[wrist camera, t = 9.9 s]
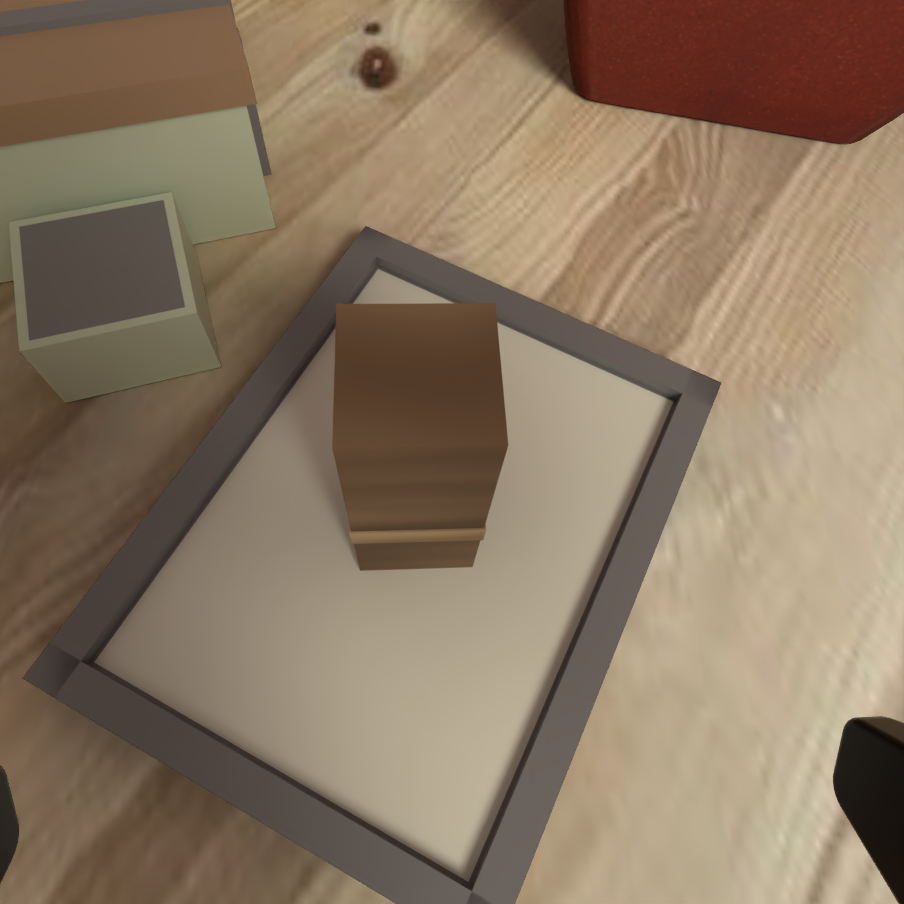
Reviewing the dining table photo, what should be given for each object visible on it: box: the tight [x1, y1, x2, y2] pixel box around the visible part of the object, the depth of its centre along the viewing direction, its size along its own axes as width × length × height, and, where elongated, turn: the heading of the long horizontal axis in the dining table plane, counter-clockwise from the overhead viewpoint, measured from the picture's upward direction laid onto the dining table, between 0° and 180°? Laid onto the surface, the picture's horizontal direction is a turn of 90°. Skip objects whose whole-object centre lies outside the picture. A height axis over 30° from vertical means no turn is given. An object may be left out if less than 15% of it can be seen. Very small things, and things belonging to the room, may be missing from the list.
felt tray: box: [22, 226, 721, 904], centre depth 21 cm, size 13×17×2 cm
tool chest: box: [0, 0, 276, 403], centre depth 24 cm, size 20×12×7 cm, turn 18°
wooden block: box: [332, 303, 508, 571], centre depth 17 cm, size 3×3×8 cm
